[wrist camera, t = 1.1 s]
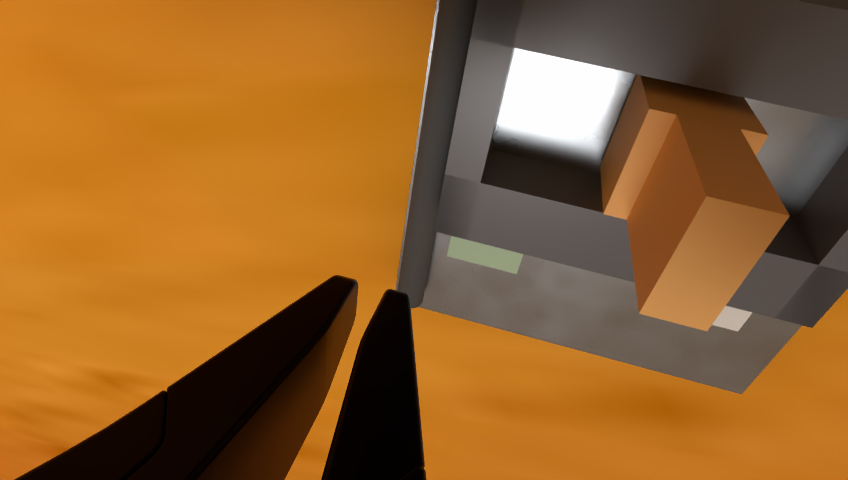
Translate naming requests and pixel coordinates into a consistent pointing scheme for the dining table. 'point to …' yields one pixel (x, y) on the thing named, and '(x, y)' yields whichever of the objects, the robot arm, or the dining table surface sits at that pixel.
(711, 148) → the toggle
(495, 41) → the box
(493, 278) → the panel
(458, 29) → the grey flat frame
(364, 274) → the dining table surface
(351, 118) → the dining table surface
